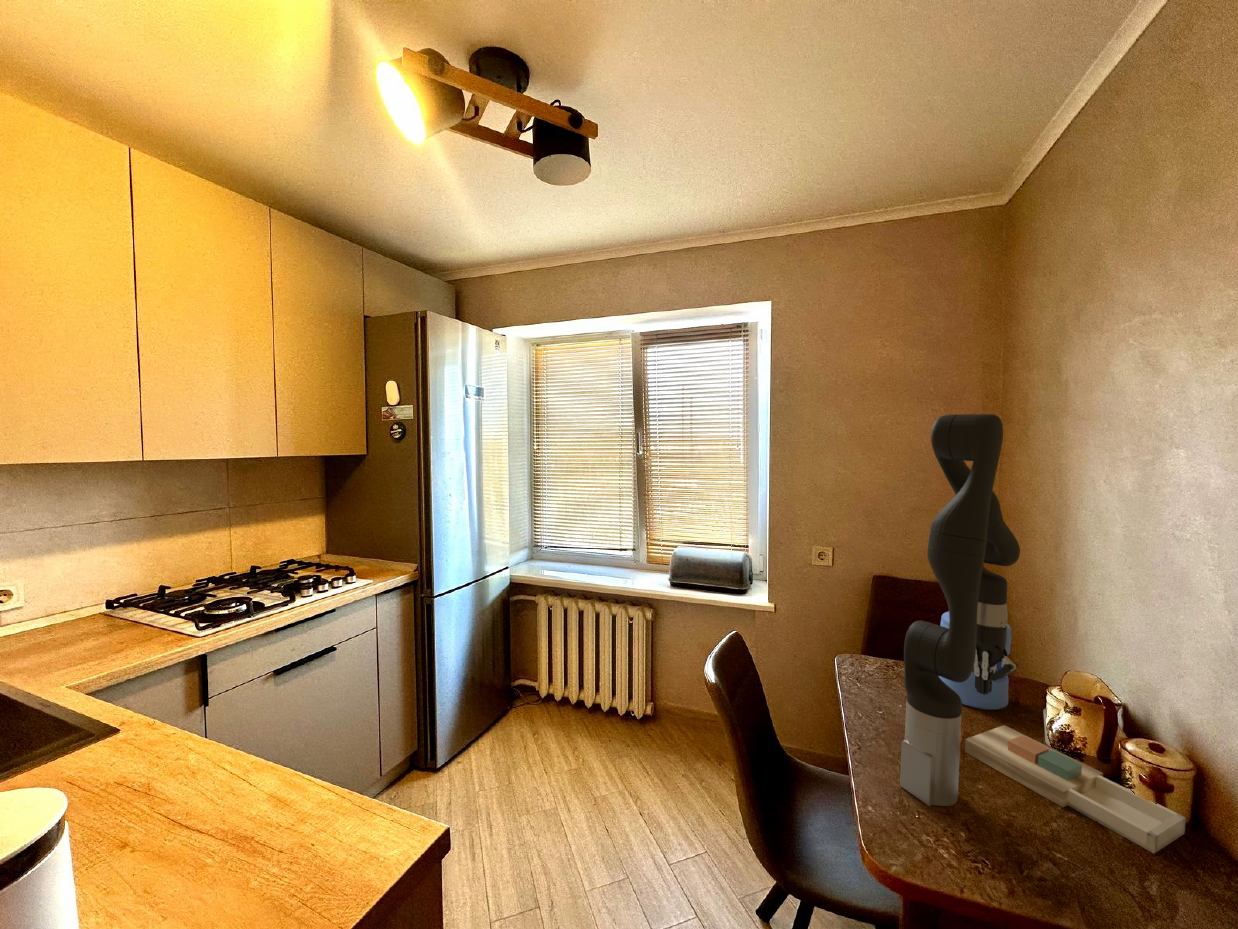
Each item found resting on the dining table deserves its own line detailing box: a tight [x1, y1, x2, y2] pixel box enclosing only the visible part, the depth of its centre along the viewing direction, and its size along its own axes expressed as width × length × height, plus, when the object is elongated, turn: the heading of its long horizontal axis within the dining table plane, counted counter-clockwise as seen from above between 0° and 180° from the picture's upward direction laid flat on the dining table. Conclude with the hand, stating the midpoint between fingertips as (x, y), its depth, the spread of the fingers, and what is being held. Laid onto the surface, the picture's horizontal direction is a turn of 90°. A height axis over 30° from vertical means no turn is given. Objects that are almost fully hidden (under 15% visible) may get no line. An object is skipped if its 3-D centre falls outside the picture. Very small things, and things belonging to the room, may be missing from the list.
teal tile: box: [1038, 750, 1082, 781], centre depth 101 cm, size 5×5×2 cm
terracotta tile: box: [1008, 736, 1049, 764], centre depth 106 cm, size 5×5×2 cm
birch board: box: [964, 724, 1104, 808], centre depth 105 cm, size 14×18×3 cm
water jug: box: [939, 611, 1012, 711], centre depth 135 cm, size 16×16×28 cm
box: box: [1067, 775, 1187, 854], centre depth 92 cm, size 11×12×3 cm
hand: (983, 693), depth 114 cm, fingers closed
